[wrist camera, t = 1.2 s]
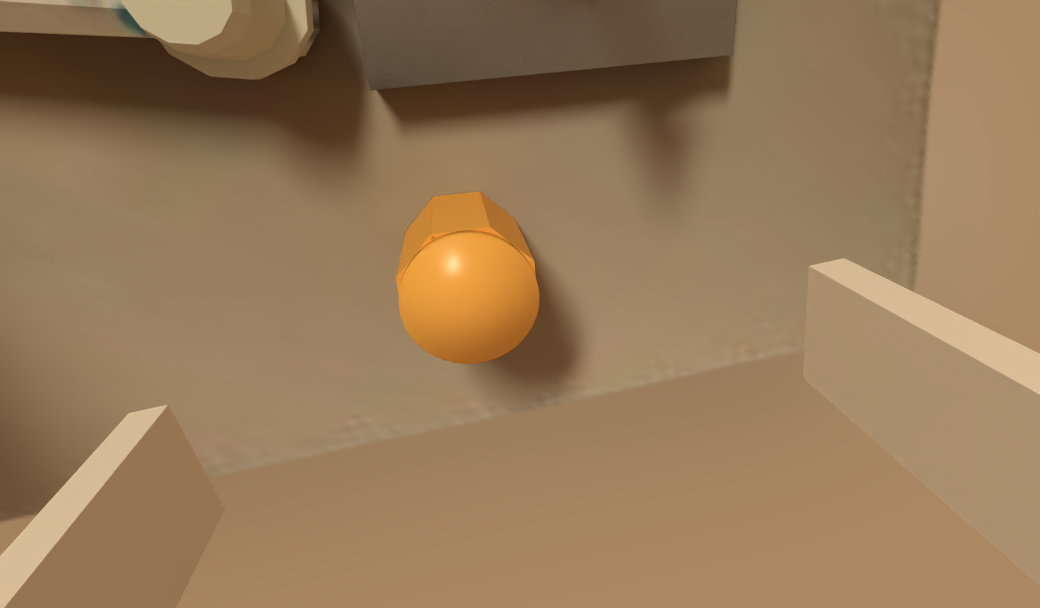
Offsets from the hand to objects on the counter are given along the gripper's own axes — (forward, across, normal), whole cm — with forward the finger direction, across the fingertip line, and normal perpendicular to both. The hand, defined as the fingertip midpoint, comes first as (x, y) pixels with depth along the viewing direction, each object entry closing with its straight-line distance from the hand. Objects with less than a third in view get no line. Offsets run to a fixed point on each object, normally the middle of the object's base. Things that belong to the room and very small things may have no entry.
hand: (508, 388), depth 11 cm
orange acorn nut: (+18, -1, -2) cm, 18 cm away
